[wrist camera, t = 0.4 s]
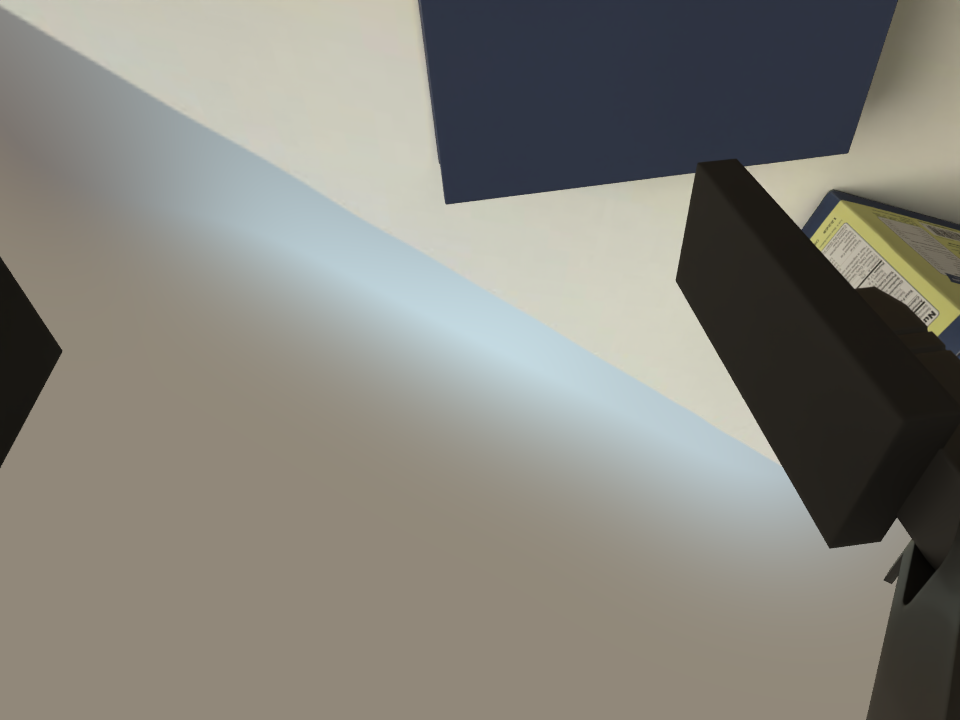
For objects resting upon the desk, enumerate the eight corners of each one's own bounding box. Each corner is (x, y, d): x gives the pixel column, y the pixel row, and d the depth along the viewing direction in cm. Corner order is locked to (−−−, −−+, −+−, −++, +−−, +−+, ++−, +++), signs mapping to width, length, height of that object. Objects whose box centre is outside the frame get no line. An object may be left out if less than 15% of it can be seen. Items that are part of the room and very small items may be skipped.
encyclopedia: (396, -173, 29) (398, -164, 25) (892, -227, 30) (972, -226, 26) (438, 160, 40) (445, 205, 36) (802, 115, 41) (848, 153, 37)
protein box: (897, 335, 55) (1031, 483, 44) (744, 304, 51) (849, 460, 40) (993, 230, 49) (1180, 372, 38) (827, 185, 45) (981, 330, 33)
